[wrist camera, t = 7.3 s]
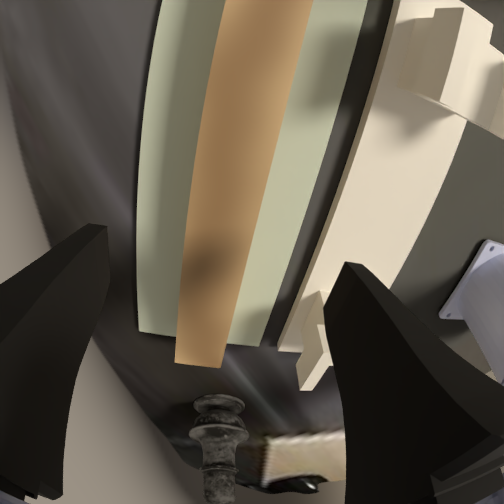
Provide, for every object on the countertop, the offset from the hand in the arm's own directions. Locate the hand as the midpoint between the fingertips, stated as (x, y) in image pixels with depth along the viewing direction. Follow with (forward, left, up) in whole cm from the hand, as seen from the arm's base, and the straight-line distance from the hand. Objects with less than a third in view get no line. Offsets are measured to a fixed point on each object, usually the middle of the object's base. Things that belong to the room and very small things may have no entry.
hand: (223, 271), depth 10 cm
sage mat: (0, 0, -8) cm, 8 cm away
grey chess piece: (-3, +24, -8) cm, 26 cm away
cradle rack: (-9, 0, -8) cm, 12 cm away
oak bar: (0, 0, -8) cm, 8 cm away
